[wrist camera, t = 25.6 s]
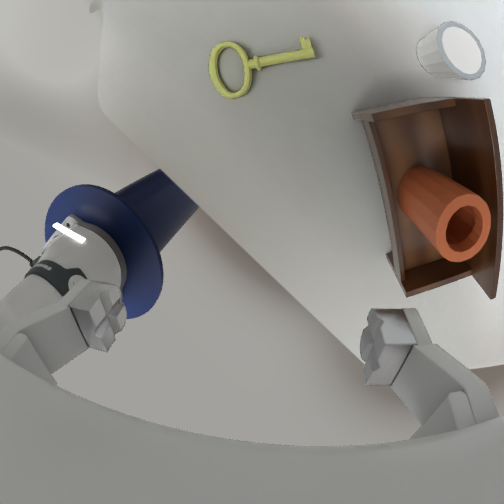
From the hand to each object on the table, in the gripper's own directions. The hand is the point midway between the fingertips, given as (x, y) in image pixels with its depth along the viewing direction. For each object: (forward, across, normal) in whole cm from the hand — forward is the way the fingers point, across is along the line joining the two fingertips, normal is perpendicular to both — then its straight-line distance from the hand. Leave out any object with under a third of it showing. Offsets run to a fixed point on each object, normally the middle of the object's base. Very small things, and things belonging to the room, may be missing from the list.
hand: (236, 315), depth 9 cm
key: (+27, -3, +12) cm, 30 cm away
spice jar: (+22, +16, -1) cm, 27 cm away
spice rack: (+27, +16, -1) cm, 32 cm away
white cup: (+27, +19, +16) cm, 37 cm away
